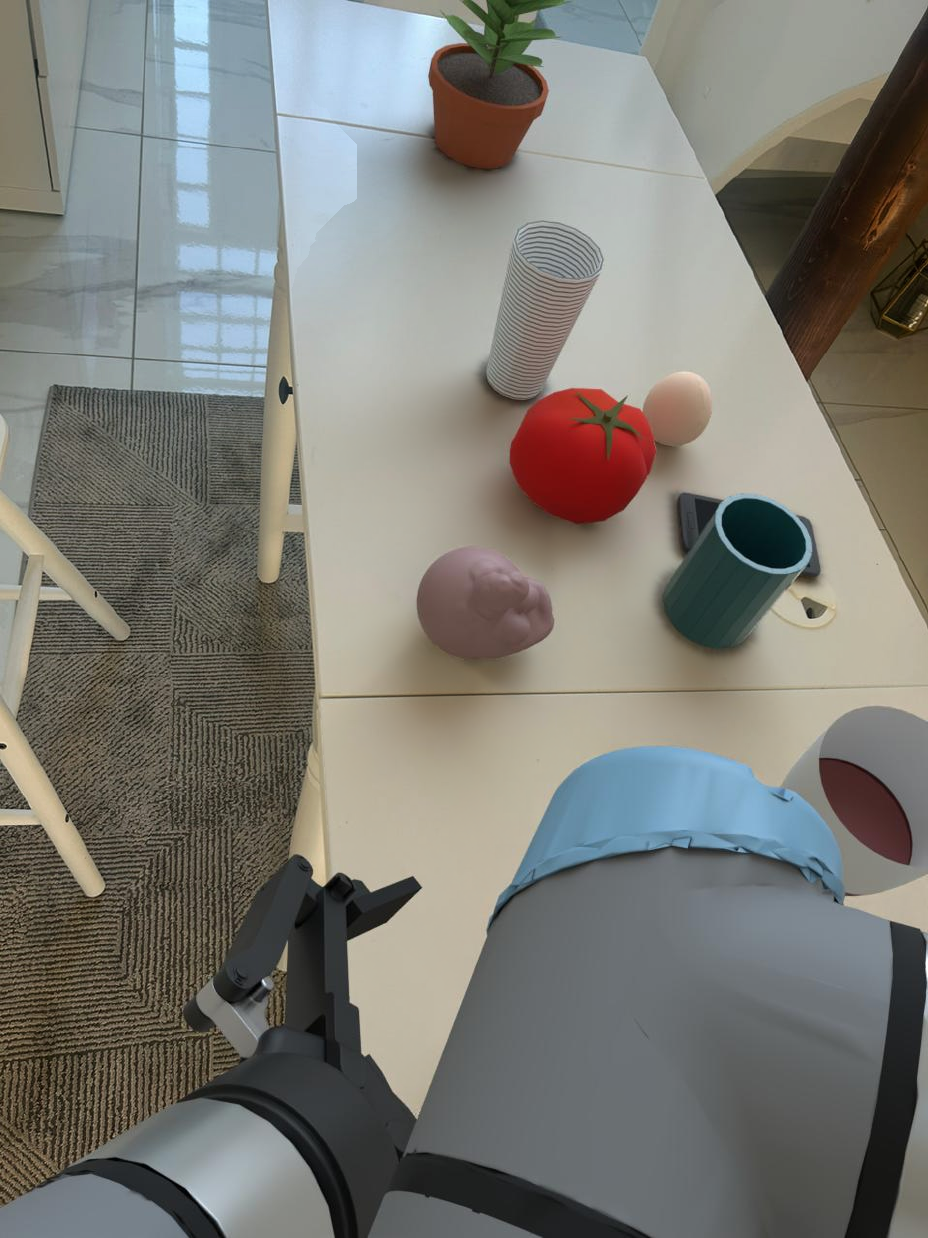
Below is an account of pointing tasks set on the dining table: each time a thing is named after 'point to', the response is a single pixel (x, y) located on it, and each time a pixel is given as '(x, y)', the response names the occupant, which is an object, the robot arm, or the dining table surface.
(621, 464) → the tomato
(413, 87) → the dining table surface
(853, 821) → the wineglass
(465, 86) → the potted plant
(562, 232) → the cup
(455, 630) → the figurine
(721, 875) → the robot arm
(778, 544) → the teal pencil holder
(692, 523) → the cell phone
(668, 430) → the egg
